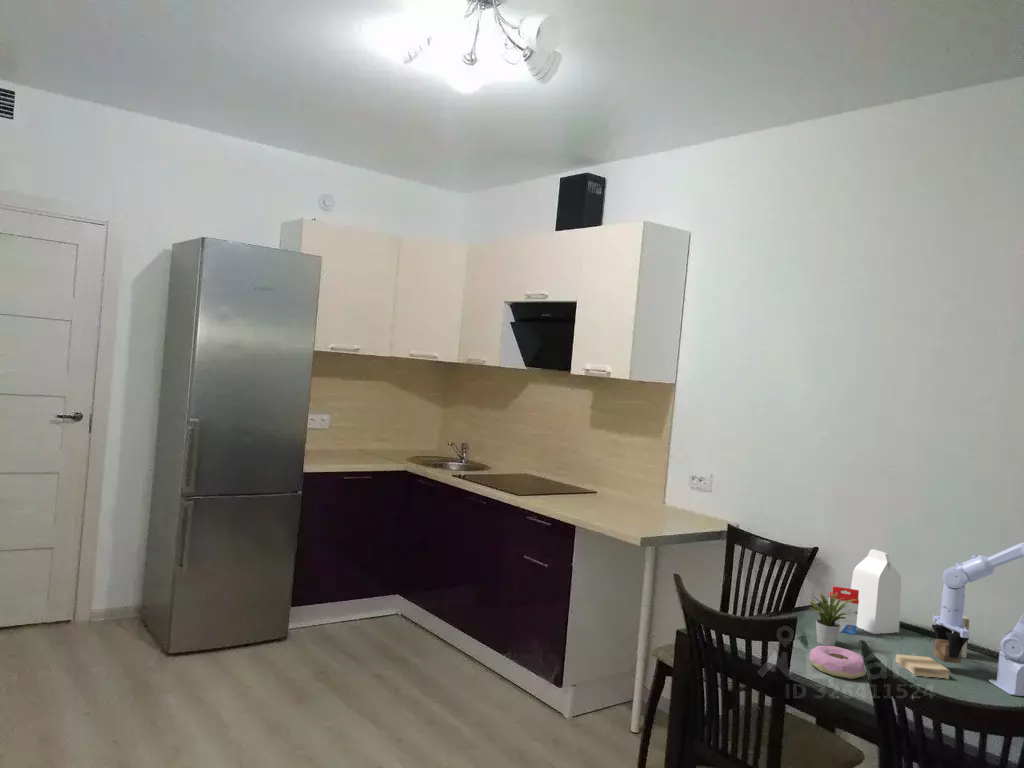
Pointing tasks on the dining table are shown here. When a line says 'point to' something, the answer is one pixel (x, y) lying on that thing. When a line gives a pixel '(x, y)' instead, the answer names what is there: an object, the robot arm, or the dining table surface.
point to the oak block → (922, 666)
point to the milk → (877, 593)
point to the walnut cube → (945, 651)
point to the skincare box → (966, 625)
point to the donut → (837, 661)
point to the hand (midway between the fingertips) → (947, 654)
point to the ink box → (847, 609)
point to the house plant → (828, 619)
